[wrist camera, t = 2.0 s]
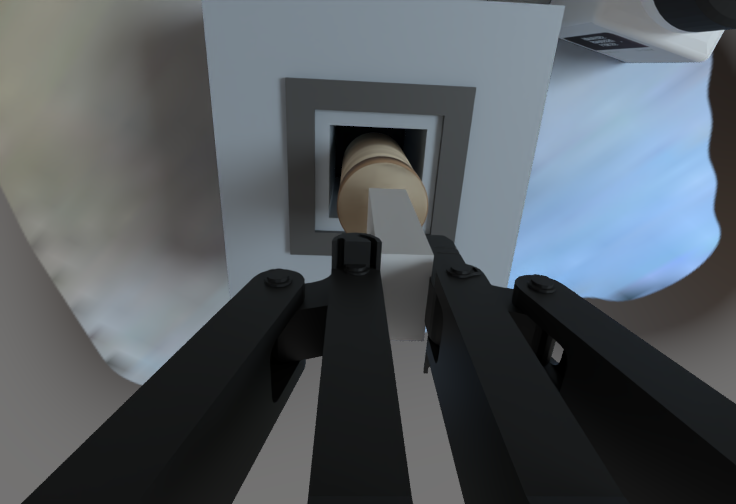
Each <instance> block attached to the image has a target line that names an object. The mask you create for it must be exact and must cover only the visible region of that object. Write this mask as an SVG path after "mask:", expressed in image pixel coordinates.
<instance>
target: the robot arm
mask: <svg viewBox="0 0 736 504" xmlns="http://www.w3.org/2000/svg"><path fill="white" fill-rule="evenodd" d="M425 325H426V329H427V332H428V340H427V347H426V355H425V363H424V373H428V368H429V367H430V368H431V372H432V376H433V380H434V383H435V387H436V391H437V395H438V399H439V403H440V407H441V411H442V415H443V419H444V423H445V427H446V431H447V435H448V439H449V443H450V446H451V451H452V455H453V458H454V463H455V467H456V471H457V474H458V478H459V482H460V487H461V491H462V494H463V498H464V502H465V504H736V404H735V403H734V402H732V401H731V400H729V399H728V398H726V397H725V396H723V395H722V394H720V393H719V392H718V391H716V390H715V389H713V388H712V387H710V386H709V385H708V384H706V383H705V382H703V381H702V380H700V379H699V378H697V377H696V376H695V375H693V374H692V373H690V372H689V371H687V370H686V369H684V368H683V367H682V366H680V365H679V364H677V363H676V362H674V361H673V360H671V359H670V358H668V357H667V356H666V355H664V354H663V353H661V352H660V351H658V350H657V349H656V348H654V347H653V346H651V345H650V344H648V343H647V342H645V341H644V340H643V339H641V338H639V337H638V336H637V335H635V334H634V333H632V332H631V331H630V330H628V329H627V328H625V327H624V326H622V325H621V324H619V323H618V322H617V321H615V320H614V319H612V318H611V317H609V316H608V315H606V314H605V313H603V312H602V311H601V310H599V309H598V308H596V307H595V306H593V305H592V304H591V303H589V302H588V301H586V300H584V299H583V298H582V297H580V296H579V295H578V294H576V293H575V292H573V291H572V290H570V289H569V288H567V287H566V286H565V285H563V284H561V283H559V282H558V281H556V280H553V279H550V278H548V277H547V276H543V275H541V276H540V275H536V274H534V275H524V276H520V277H518V278H517V279H516V280H515V284H514V289H509V288H504V287H498V286H494V285H491V284H490V282H489V280H488V279H487V277H486V276H485V274H484V273H483V272H482V271H481V270H480V269H478V268H477V267H474V266H472V265H469V264H466V263H465V262H464V260H463V258H462V256H461V255H460V254H459V251H458V249H456V246H455V244H454V242H453V241H452V240H450V239H449V238H447V237H446V236H444V235H425V233H424V231H423V229H422V226H421V224H420V222H419V219H418V217H417V215H416V212H415V210H414V208H413V205H412V203H411V201H410V198H409V196H408V194H407V191H406V189H382V188H369V197H368V217H367V234H366V233H357V232H356V233H342V234H340V235H338V236H336V237H334V238H333V240H332V268H331V275H330V276H329V277H327V278H325V279H323V280H320V281H316V282H311V283H305V279H304V277H303V276H302V275H301V274H300V273H298V272H296V271H292V270H288V269H281V268H277V269H270V270H268V271H265V272H261V273H259V274H258V275H256V276H255V277H253V278H252V279H251V280H250V281H249V282H248V283H247V284H246V285H245V286H244V287H243V288H242V289H241V290H240V291H239V292H238V293H237V294H236V295H235V296H234V297H233V298H232V299H231V300H230V301H229V302H228V303H227V304H226V305H225V306H224V307H222V308H221V309H220V310H219V311H218V312H217V313H216V314H215V315H214V316H213V317H212V318H211V319H210V320H209V321H208V322H207V323H206V324H205V325H204V326H203V327H202V328H201V329H200V330H199V331H198V332H197V333H196V334H195V335H194V336H193V337H192V338H191V339H190V340H189V341H188V342H187V343H186V344H185V345H183V346H182V347H181V348H180V349H179V350H178V351H177V352H176V353H175V354H174V355H173V356H172V357H171V358H170V359H169V360H168V361H167V362H166V363H165V364H164V365H163V366H162V367H161V368H160V369H159V370H158V371H157V372H156V373H155V374H154V375H153V376H152V377H151V378H150V379H149V380H148V381H147V382H145V383H144V384H143V385H142V386H141V387H140V388H139V389H138V390H137V391H136V392H135V393H134V394H133V395H132V396H131V397H130V398H129V399H128V400H127V401H126V402H125V403H124V404H123V405H122V406H121V407H120V408H119V409H118V410H117V411H116V412H115V413H114V414H113V415H112V416H111V417H110V418H109V419H107V421H106V422H105V423H103V424H102V425H101V426H100V427H99V428H98V429H97V430H96V431H95V432H94V433H93V434H92V435H91V436H90V437H89V438H88V439H87V440H86V441H85V442H84V443H83V444H82V445H81V446H80V447H79V448H78V449H77V450H76V451H75V452H74V453H73V454H72V455H71V456H70V457H69V458H67V460H65V462H63V463H62V464H61V465H60V466H59V467H58V468H57V469H56V470H55V471H54V472H53V473H52V474H51V475H50V476H49V477H48V478H47V479H46V480H45V481H44V482H43V483H42V484H41V485H40V486H39V487H38V488H37V489H36V490H35V491H34V492H33V493H31V495H29V497H27V498H26V499H25V500H24V501H23V502H22V503H21V504H232V503H233V501H234V499H235V497H236V495H237V493H238V491H239V489H240V487H241V486H242V484H243V482H244V480H245V478H246V477H247V475H248V473H249V471H250V469H251V467H252V465H253V464H254V462H255V460H256V458H257V456H258V454H259V452H260V450H261V449H262V447H263V445H264V443H265V441H266V439H267V437H268V436H269V434H270V432H271V430H272V428H273V426H274V424H275V423H276V421H277V419H278V417H279V415H280V413H281V411H282V410H283V408H284V406H285V404H286V402H287V400H288V398H289V396H290V395H291V393H292V391H293V389H294V387H295V385H296V383H297V382H298V380H299V378H300V376H301V374H302V372H303V370H304V368H305V364H306V359H309V358H315V357H319V356H323V357H322V367H321V377H320V387H319V396H318V407H317V416H316V426H315V436H314V446H313V455H312V465H311V475H310V485H309V495H308V504H413V501H412V496H411V488H410V481H409V474H408V467H407V460H406V454H405V446H404V438H403V431H402V424H401V416H400V409H399V402H398V395H397V388H396V380H395V373H394V366H393V359H392V351H391V344H390V340H395V341H398V340H399V341H424V333H425ZM556 341H557V342H558V343H559V344H560V345H561V346H562V348H563V349H564V351H563V354H562V358H561V360H560V362H559V363H558V362H556V361H555V360H554V359H553V358H552V357H551V356H552V352H553V349H554V345H555V342H556Z"/></svg>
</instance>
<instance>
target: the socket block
mask: <svg viewBox="0 0 736 504" xmlns="http://www.w3.org/2000/svg"><path fill="white" fill-rule="evenodd" d="M564 9H565V6H562V5H546V4H530V3H514V2H498V1H482V0H202V10H203V21H204V31H205V42H206V52H207V63H208V73H209V84H210V94H211V104H212V115H213V125H214V136H215V146H216V157H217V167H218V178H219V188H220V199H221V209H222V220H223V230H224V241H225V251H226V262H227V272H228V283H229V293H230V300H231V299H232V298H233V297H234V296H235V295H236V294H237V293H238V292H239V291H240V290H241V289H242V288H243V287H244V286H245V285H246V284H247V283H248V282H249V281H250V280H251V279H252V278H253V277H255V276H256V275H258V274H259V273H261V272H265V271H268V270H270V269H277V268H281V269H288V270H292V271H296V272H298V273H300V274H301V275H302V276H303V277H304V279H305V283H311V282H316V281H320V280H323V279H325V278H327V277H329V276H330V275H331V268H332V240H333V238H334V237H336V236H338V235H340V234H342V233H346V232H345V231H344V229H343V228H342V226H341V224H340V221H339V218H338V214H337V198H338V191H339V187H340V181H341V178H335V159H336V125H343V126H364V127H386V128H405V136H404V149H403V153H404V154H405V156H406V158H407V159H408V161H409V163H410V165H411V166H412V168H413V170H414V171H415V172H416V173H417V175H418V176H419V178H420V180H421V181H422V183H423V185H424V187H425V189H426V192H427V196H428V213H427V217H426V220H425V222H424V224H423V226H422V229H423V231H424V233H425V235H444V236H446V237H447V238H449V239H450V240H452V241H453V242H454V244H455V246H456V249H458V251H459V254H460V255H461V256H462V258H463V260H464V262H465V263H466V264H469V265H472V266H474V267H477V268H478V269H480V270H481V271H482V272H483V273H484V274H485V276H486V277H487V279H488V280H489V282H490V284H491V285H494V286H498V287H504V288H507V285H508V280H509V276H510V271H511V266H512V261H513V256H514V251H515V246H516V242H517V237H518V232H519V227H520V222H521V217H522V212H523V208H524V203H525V198H526V193H527V188H528V183H529V178H530V174H531V169H532V164H533V159H534V154H535V149H536V145H537V140H538V135H539V130H540V125H541V120H542V115H543V111H544V106H545V101H546V96H547V91H548V86H549V81H550V77H551V72H552V67H553V62H554V57H555V52H556V48H557V43H558V38H559V33H560V28H561V23H562V18H563V14H564Z"/></svg>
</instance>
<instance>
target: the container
mask: <svg viewBox="0 0 736 504" xmlns="http://www.w3.org/2000/svg"><path fill="white" fill-rule="evenodd" d="M550 5H562V6H565V9H564V14H563V18H562V23H561V28H560V33H559V38H560V39H563V40H565V41H568V42H571V43H574V44H577V45H579V46H582V47H585V48H588V49H591V50H593V51H596V52H599V53H602V54H605V55H607V56H610V57H613V58H616V59H618V60H621V61H624V62H627V63H682V62H703V61H705V60H707V59H708V58H709V57H710V55H711V53H712V51H713V50H714V48H715V46H716V44H717V42H718V41H719V39H720V37H721V35H722V33H723V32H724V30H729V29H736V0H551V3H550Z"/></svg>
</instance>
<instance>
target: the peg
mask: <svg viewBox="0 0 736 504" xmlns="http://www.w3.org/2000/svg"><path fill="white" fill-rule="evenodd" d="M369 188H382V189H406V191H407V194H408V196H409V198H410V201H411V203H412V205H413V208H414V210H415V212H416V215H417V217H418V219H419V222H420V224H421V226H423V224H424V222H425V220H426V217H427V213H428V196H427V192H426V189H425V187H424V185H423V183H422V181H421V180H420V178H419V176H418V175H417V173H416V172H415V171H414V170H413V168H412V166H411V165H410V163H409V161H408V159H407V158H406V156H405V154H404V153H403V151H402V149H401V147H400V146H399V144H398V143H397V142H396V141H395V140H394V139H392V138H391V137H389V136H388V135H385V134H382V133H377V132H371V133H366V134H363V135H361V136H359V137H357V138H355V139H354V140H353V141H352V142H351V143H350V144H349V146H348V147H347V149H346V151H345V153H344V157H343V163H342V172H341V181H340V187H339V191H338V198H337V214H338V218H339V221H340V224H341V226H342V228H343V229H344V231H345V232H346V233H356V232H357V233H366V234H367V217H368V197H369Z"/></svg>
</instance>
